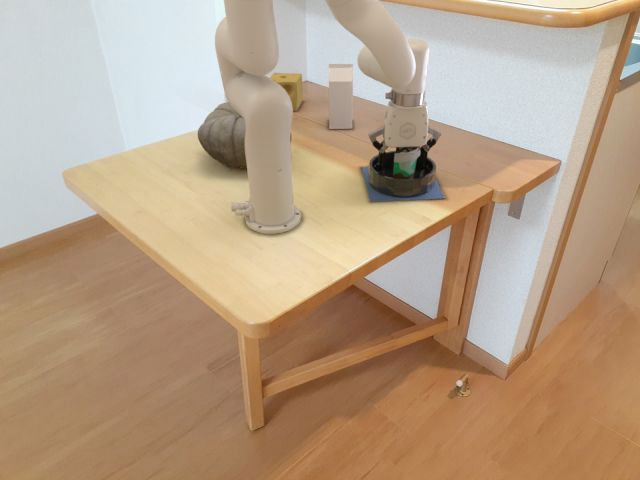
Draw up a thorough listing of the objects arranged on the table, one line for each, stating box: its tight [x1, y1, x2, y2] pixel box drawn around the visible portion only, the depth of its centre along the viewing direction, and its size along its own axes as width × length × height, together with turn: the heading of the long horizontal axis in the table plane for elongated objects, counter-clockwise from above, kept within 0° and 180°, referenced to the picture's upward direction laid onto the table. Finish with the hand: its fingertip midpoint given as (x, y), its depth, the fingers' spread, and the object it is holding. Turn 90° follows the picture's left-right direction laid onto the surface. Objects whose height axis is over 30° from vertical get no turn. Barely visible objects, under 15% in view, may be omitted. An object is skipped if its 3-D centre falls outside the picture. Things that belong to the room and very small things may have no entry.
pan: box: [368, 150, 437, 198], centre depth 129 cm, size 16×16×5 cm
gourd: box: [197, 101, 292, 169], centre depth 138 cm, size 25×25×17 cm
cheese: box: [269, 72, 304, 112], centre depth 174 cm, size 10×11×10 cm
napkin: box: [360, 166, 446, 203], centre depth 130 cm, size 18×18×1 cm
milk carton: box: [328, 63, 354, 130], centre depth 156 cm, size 7×7×19 cm
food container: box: [393, 146, 421, 179], centre depth 127 cm, size 12×6×10 cm, turn 170°
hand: (402, 164), depth 127 cm, fingers open, 9 cm apart
